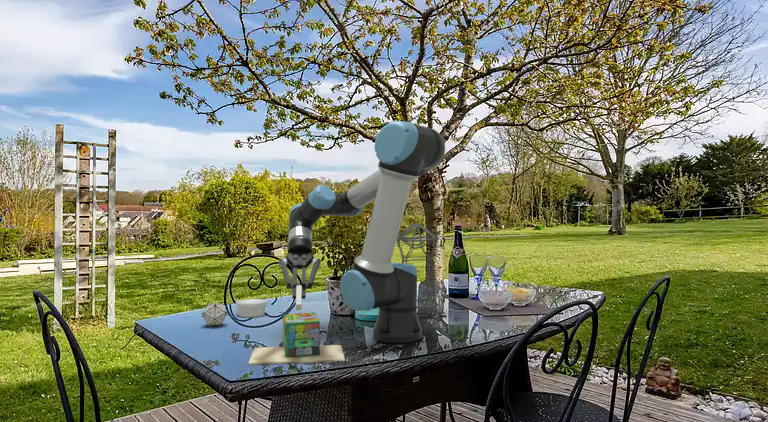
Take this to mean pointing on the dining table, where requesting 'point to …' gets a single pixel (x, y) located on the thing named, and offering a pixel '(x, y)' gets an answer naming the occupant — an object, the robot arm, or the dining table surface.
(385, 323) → the robot arm
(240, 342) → the dining table surface
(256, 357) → the beige mat
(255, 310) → the ramekin
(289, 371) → the dining table surface
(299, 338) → the chalk box
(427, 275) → the geometric lantern
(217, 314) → the game die
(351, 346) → the dining table surface
